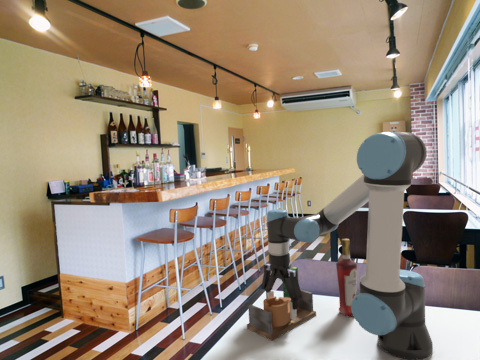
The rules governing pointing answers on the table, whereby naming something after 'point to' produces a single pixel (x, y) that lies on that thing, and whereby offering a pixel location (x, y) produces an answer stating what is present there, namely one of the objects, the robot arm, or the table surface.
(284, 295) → the coffee box
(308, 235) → the robot arm
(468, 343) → the table surface
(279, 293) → the table surface
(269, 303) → the bracket
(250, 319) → the board
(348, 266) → the liquor
